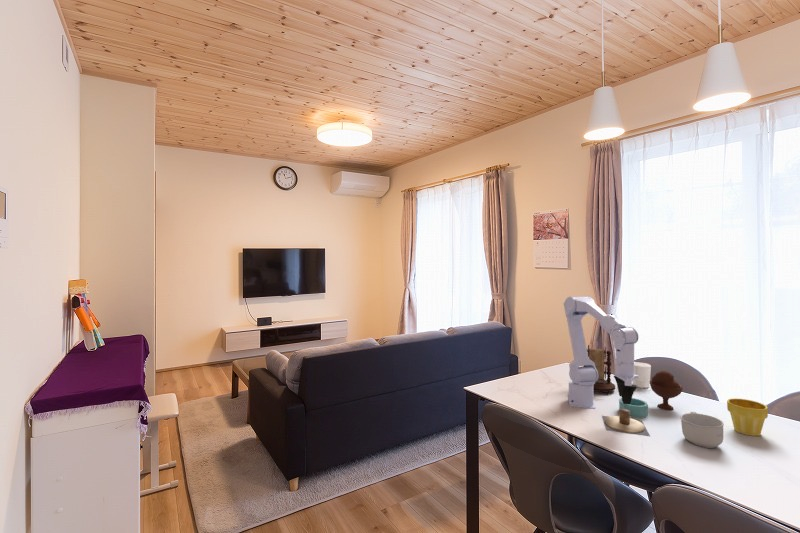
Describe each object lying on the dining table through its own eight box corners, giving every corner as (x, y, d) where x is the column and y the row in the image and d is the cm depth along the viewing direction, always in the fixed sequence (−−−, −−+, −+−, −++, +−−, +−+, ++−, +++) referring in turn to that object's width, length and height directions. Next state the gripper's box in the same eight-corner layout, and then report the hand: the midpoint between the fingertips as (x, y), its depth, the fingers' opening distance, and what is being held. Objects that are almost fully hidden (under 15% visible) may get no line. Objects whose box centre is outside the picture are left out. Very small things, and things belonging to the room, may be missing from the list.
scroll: (577, 391, 172) (577, 347, 172) (580, 382, 185) (580, 340, 185) (615, 396, 165) (615, 350, 164) (615, 386, 178) (615, 344, 177)
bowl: (621, 416, 144) (621, 404, 144) (617, 407, 153) (617, 396, 153) (649, 420, 141) (650, 407, 141) (644, 410, 150) (644, 399, 149)
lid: (607, 429, 133) (607, 414, 132) (603, 416, 144) (603, 402, 144) (648, 435, 128) (648, 419, 128) (640, 421, 139) (640, 406, 139)
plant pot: (723, 430, 132) (723, 402, 132) (731, 422, 138) (731, 395, 138) (764, 441, 124) (764, 411, 124) (770, 432, 130) (770, 404, 130)
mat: (606, 431, 132) (606, 429, 132) (601, 416, 144) (601, 415, 144) (650, 437, 127) (650, 436, 127) (641, 421, 140) (641, 420, 139)
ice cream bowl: (688, 414, 146) (688, 375, 146) (655, 412, 148) (656, 373, 148) (674, 403, 156) (674, 367, 156) (644, 402, 159) (644, 366, 158)
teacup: (726, 455, 116) (726, 429, 115) (682, 446, 121) (682, 421, 121) (718, 437, 127) (718, 413, 127) (678, 429, 133) (678, 406, 133)
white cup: (654, 388, 175) (654, 366, 175) (637, 388, 175) (637, 366, 175) (643, 382, 183) (644, 362, 183) (627, 382, 183) (627, 362, 183)
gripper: (642, 368, 127) (642, 409, 128) (633, 357, 141) (633, 394, 141) (618, 366, 130) (618, 406, 130) (612, 356, 143) (611, 392, 144)
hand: (624, 400), depth 136 cm, fingers open, 7 cm apart
